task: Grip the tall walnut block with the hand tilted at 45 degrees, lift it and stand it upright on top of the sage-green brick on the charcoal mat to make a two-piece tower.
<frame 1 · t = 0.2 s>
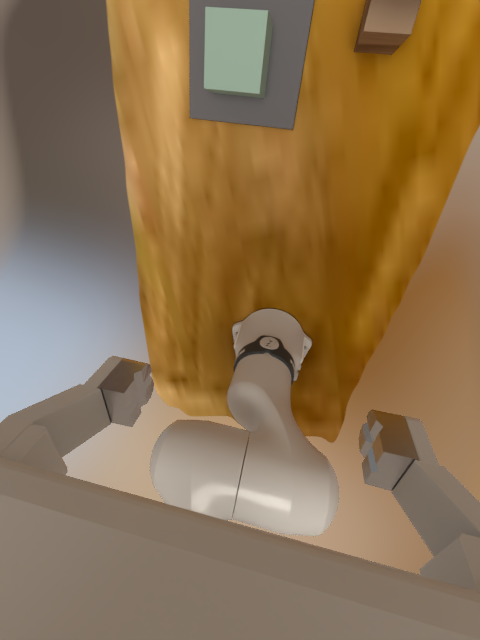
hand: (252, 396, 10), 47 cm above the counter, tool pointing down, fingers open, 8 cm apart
walnut block: (379, 27, 37), on the counter
sage brick: (241, 60, 41), point 1 cm above the counter, touching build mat
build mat: (245, 62, 42), on the counter
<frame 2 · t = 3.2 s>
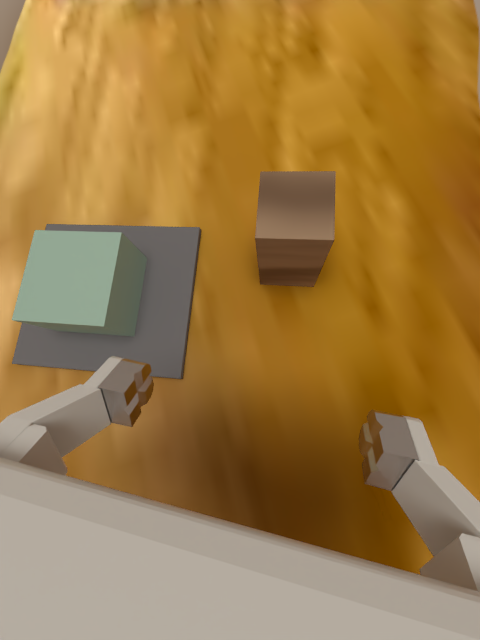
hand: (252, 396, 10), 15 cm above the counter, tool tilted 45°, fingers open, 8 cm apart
walnut block: (287, 261, 27), on the counter
sage brick: (102, 294, 28), point 1 cm above the counter, touching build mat
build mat: (110, 296, 29), on the counter
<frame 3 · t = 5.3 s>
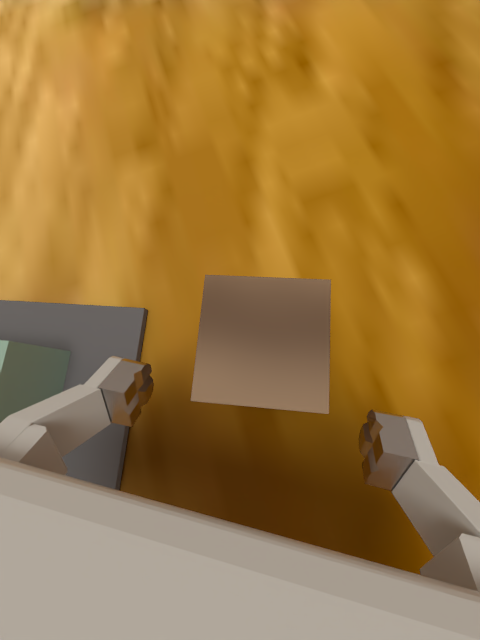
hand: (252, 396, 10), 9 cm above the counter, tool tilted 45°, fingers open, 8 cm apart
walnut block: (265, 359, 19), on the counter
sage brick: (7, 403, 20), point 1 cm above the counter, touching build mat
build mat: (20, 403, 21), on the counter
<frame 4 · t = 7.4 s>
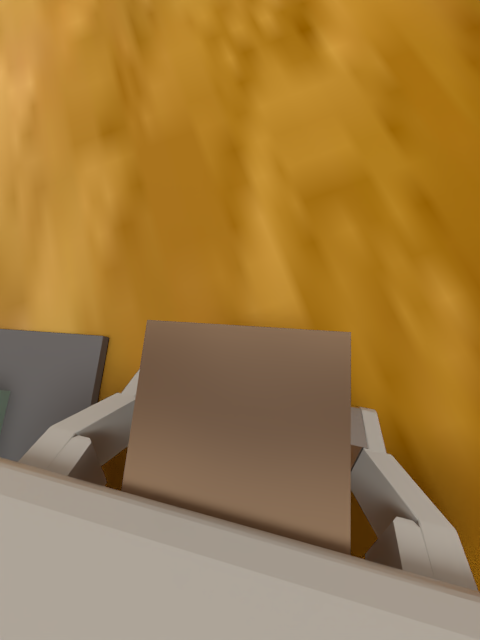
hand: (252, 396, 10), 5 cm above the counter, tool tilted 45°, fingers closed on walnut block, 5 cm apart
walnut block: (256, 403, 15), on the counter, touching gripper
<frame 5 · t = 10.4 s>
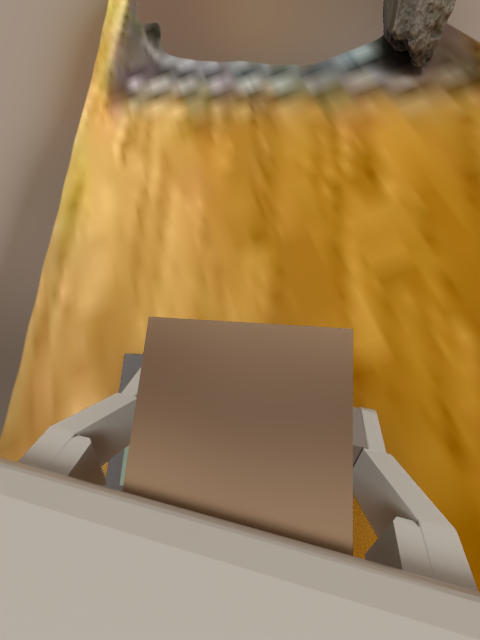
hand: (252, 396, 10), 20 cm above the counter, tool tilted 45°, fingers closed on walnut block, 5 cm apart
walnut block: (257, 402, 15), point 15 cm above the counter, touching gripper
decorative rock: (395, 39, 39), on the counter
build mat: (193, 429, 30), on the counter
when the fingers open (12 cm above the counter, at t = 13.6 s): walnut block drops 1 cm, resting on sage brick.
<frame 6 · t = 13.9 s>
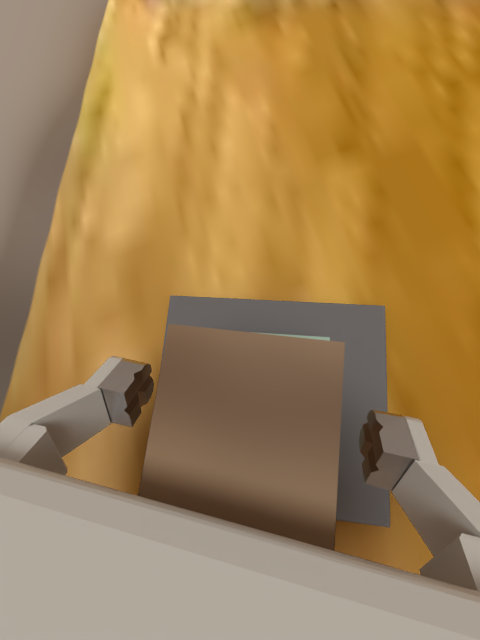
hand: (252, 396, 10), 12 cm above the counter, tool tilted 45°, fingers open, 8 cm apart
walnut block: (257, 401, 16), point 6 cm above the counter, touching sage brick
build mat: (267, 396, 22), on the counter
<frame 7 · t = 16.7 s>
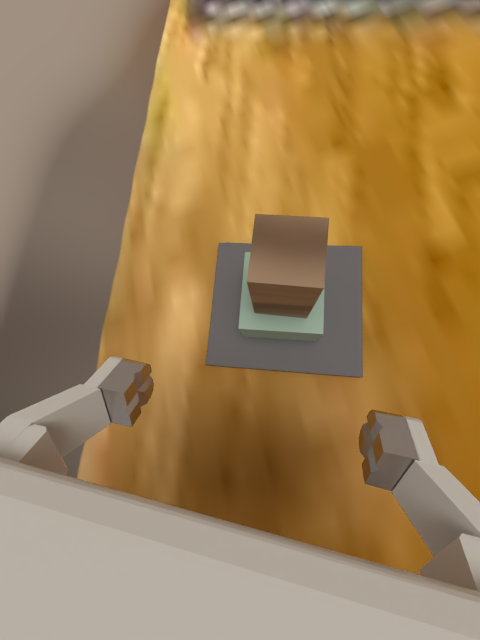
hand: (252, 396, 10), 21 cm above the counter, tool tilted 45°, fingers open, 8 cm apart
walnut block: (282, 291, 28), point 6 cm above the counter, touching sage brick
sage brick: (280, 304, 32), point 1 cm above the counter, touching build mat, walnut block
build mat: (284, 306, 33), on the counter
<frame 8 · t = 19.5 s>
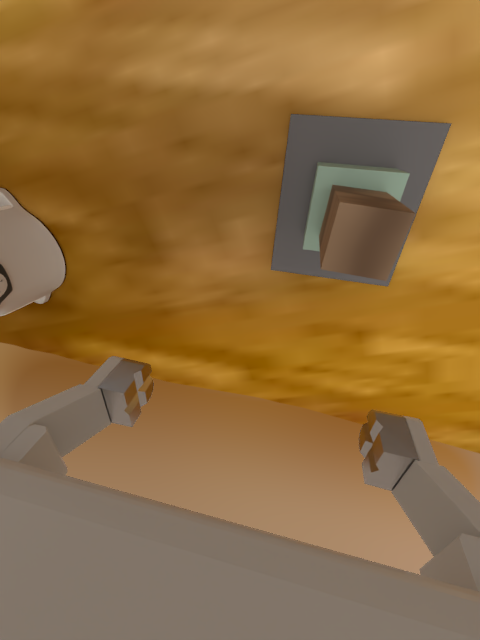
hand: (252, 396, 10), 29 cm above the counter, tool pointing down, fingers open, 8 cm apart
walnut block: (350, 215, 28), point 6 cm above the counter, touching sage brick
sage brick: (346, 205, 32), point 1 cm above the counter, touching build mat, walnut block
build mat: (344, 208, 33), on the counter
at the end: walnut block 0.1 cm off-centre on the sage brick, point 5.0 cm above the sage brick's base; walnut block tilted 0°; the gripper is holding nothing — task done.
